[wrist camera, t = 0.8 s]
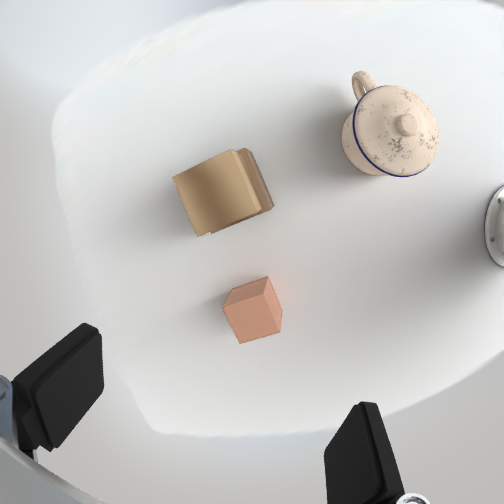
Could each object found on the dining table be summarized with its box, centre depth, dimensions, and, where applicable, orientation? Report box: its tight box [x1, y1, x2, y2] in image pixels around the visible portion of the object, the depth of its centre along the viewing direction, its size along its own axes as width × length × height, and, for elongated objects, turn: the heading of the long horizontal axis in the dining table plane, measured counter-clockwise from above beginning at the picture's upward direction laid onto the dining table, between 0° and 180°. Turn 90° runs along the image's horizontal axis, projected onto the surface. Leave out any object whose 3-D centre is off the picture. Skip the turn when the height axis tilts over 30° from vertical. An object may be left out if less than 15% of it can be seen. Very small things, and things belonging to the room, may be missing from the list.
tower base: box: [210, 148, 274, 234], centre depth 33 cm, size 7×7×5 cm
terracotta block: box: [222, 277, 282, 344], centre depth 35 cm, size 5×5×6 cm
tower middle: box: [172, 150, 263, 237], centre depth 28 cm, size 6×6×5 cm
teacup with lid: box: [341, 71, 439, 177], centre depth 25 cm, size 12×9×12 cm
